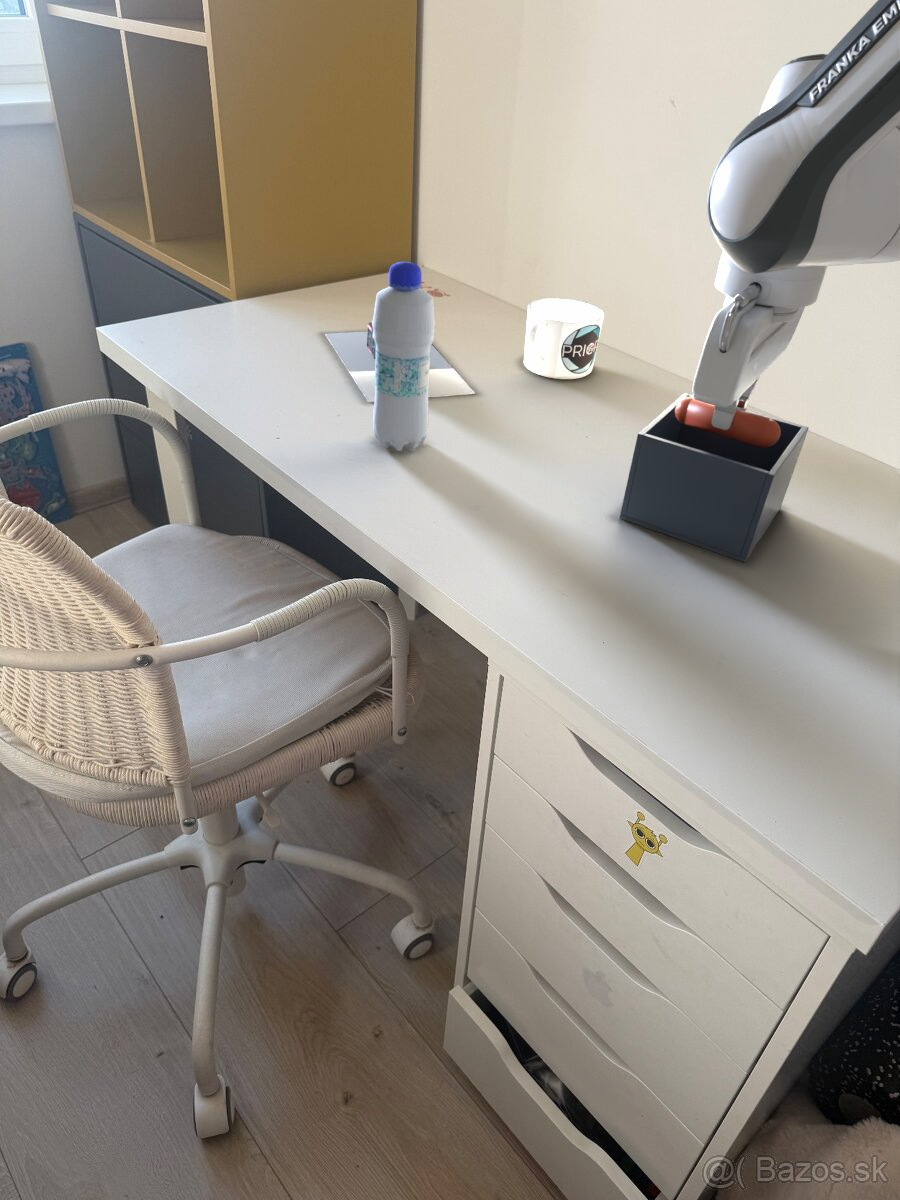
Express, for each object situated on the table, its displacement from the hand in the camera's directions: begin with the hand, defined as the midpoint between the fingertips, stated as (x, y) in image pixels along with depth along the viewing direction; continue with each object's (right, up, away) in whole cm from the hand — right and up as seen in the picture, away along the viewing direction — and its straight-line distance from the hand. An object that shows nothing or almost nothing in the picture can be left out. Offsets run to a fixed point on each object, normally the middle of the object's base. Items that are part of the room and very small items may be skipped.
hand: (728, 419), depth 81 cm
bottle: (-33, +1, +15) cm, 36 cm away
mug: (-13, +15, +37) cm, 42 cm away
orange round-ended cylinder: (0, -1, +1) cm, 2 cm away
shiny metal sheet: (-35, +16, +35) cm, 52 cm away
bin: (-1, -8, +6) cm, 11 cm away
